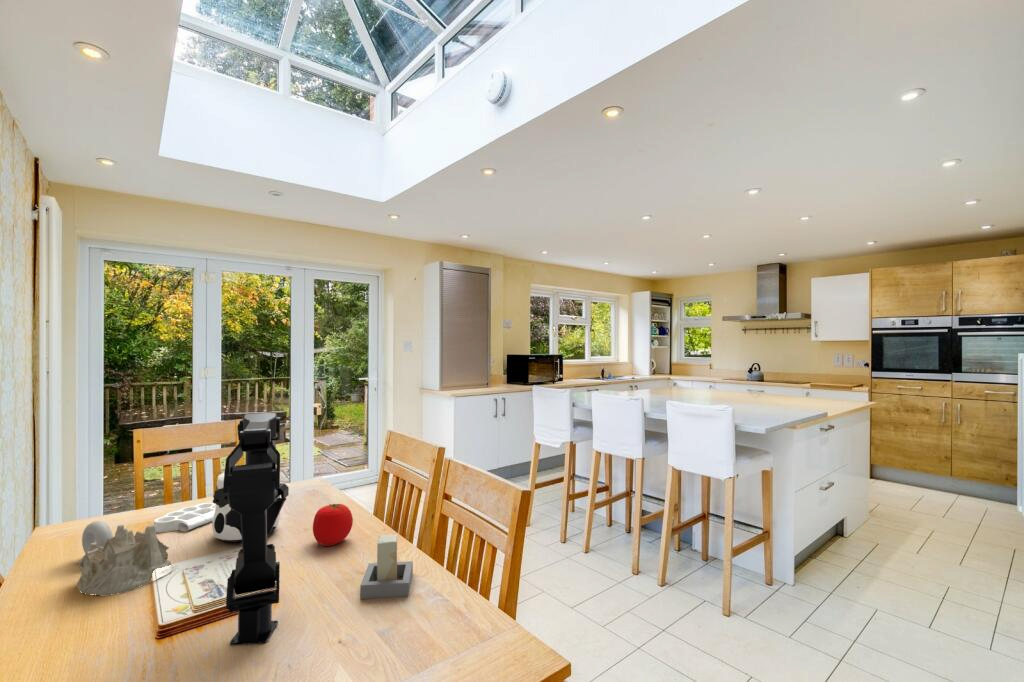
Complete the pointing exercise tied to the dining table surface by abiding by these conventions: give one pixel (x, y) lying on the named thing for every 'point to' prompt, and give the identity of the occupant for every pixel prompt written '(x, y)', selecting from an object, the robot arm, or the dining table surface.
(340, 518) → the tomato
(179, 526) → the white dimpled tray
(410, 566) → the block
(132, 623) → the dining table surface
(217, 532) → the milk container
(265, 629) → the robot arm
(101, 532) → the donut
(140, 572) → the grey castle model
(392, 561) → the box
